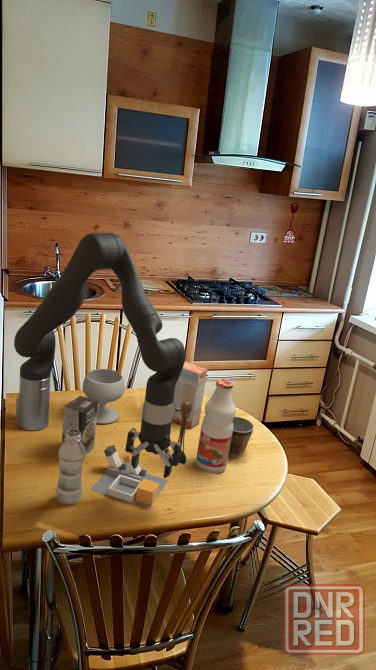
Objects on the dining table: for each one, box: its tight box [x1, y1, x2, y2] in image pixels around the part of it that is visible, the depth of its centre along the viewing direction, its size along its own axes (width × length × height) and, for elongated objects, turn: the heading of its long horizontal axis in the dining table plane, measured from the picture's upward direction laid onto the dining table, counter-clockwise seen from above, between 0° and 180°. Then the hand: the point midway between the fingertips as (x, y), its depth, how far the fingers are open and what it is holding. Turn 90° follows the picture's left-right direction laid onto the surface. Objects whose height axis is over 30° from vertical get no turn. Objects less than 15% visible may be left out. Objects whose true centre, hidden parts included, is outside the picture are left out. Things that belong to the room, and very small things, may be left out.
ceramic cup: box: [228, 416, 255, 458], centre depth 166 cm, size 13×10×10 cm
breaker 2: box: [122, 452, 142, 475], centre depth 144 cm, size 2×3×6 cm
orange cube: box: [136, 479, 159, 507], centre depth 136 cm, size 4×4×4 cm
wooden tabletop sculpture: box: [171, 401, 192, 465], centre depth 154 cm, size 6×5×20 cm
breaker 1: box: [103, 444, 122, 469], centre depth 145 cm, size 2×3×6 cm
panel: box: [90, 460, 169, 510], centre depth 141 cm, size 17×14×3 cm
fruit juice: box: [195, 378, 237, 474], centre depth 153 cm, size 9×9×28 cm
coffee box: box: [61, 395, 99, 456], centre depth 152 cm, size 9×6×16 cm
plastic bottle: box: [55, 429, 86, 506], centre depth 130 cm, size 6×7×20 cm
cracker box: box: [172, 361, 208, 430], centre depth 178 cm, size 14×6×21 cm, turn 58°
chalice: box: [81, 368, 126, 425], centre depth 174 cm, size 14×14×15 cm
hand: (150, 471), depth 134 cm, fingers open, 8 cm apart
